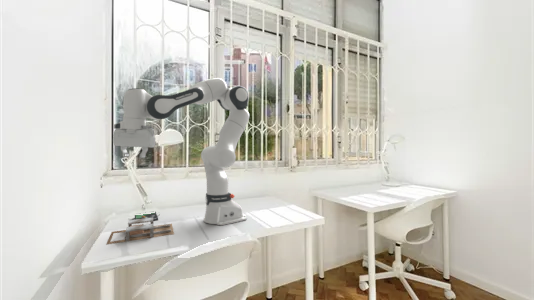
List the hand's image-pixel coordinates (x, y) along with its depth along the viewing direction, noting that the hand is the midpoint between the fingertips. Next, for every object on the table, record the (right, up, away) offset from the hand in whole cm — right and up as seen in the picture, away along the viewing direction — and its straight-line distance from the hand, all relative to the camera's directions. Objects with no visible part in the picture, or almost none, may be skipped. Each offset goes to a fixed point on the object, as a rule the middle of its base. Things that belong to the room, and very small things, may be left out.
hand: (134, 157), depth 104 cm
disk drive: (-4, -34, +19) cm, 39 cm away
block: (+2, -33, -2) cm, 33 cm away
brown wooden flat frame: (+5, -34, -1) cm, 35 cm away
